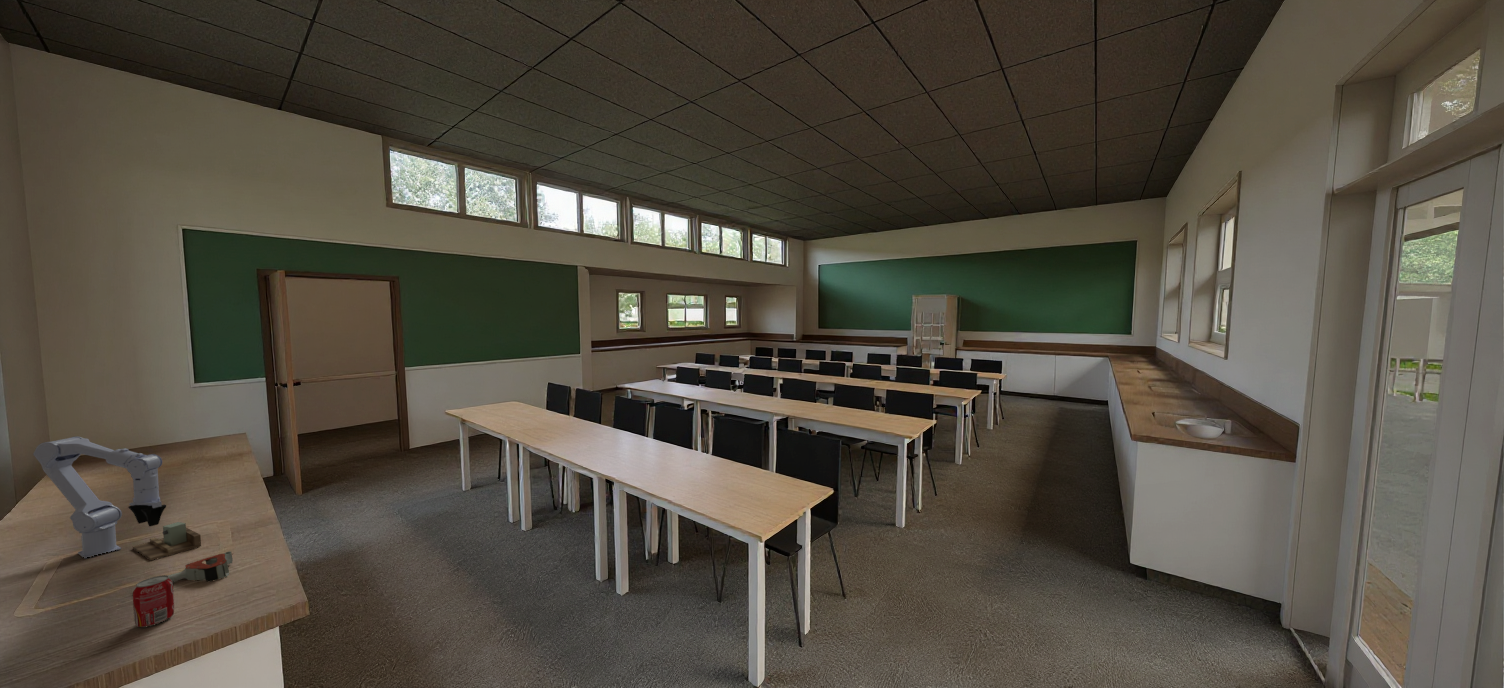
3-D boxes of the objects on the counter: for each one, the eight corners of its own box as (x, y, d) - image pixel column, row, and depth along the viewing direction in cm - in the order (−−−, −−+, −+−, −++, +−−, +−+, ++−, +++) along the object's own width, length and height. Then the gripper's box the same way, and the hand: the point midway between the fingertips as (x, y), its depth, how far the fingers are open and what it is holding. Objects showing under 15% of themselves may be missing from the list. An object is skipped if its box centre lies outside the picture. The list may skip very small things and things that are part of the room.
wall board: (132, 549, 176) (131, 537, 175) (181, 535, 186) (181, 524, 186) (150, 560, 167) (150, 548, 167) (201, 546, 178) (200, 534, 177)
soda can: (156, 614, 136) (153, 574, 136) (182, 613, 137) (180, 573, 136) (125, 630, 129) (123, 588, 129) (154, 629, 130) (151, 587, 129)
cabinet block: (160, 545, 176) (159, 527, 176) (179, 539, 181) (178, 521, 181) (168, 546, 175) (167, 528, 175) (186, 541, 180) (185, 523, 179)
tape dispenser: (133, 598, 147) (199, 592, 148) (129, 582, 147) (196, 577, 148) (196, 566, 165) (255, 561, 166) (193, 552, 164) (252, 547, 165)
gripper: (119, 489, 174) (121, 525, 174) (139, 494, 169) (141, 531, 170) (148, 483, 180) (150, 517, 181) (169, 487, 176) (171, 523, 176)
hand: (148, 523), depth 176 cm, fingers open, 7 cm apart
